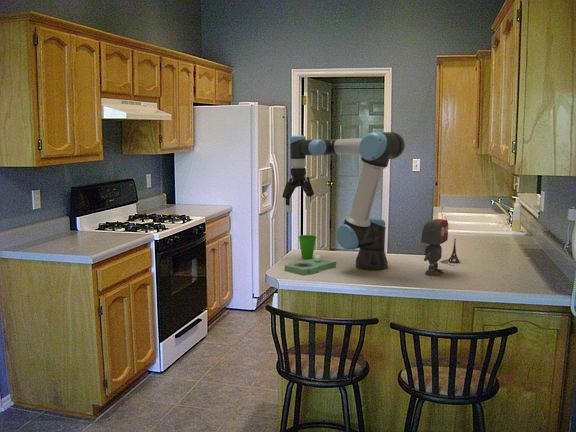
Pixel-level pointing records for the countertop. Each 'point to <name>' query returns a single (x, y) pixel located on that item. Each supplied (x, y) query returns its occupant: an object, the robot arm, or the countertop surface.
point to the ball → (317, 258)
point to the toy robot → (434, 243)
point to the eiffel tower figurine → (452, 257)
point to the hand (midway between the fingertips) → (298, 210)
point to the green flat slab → (309, 266)
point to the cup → (307, 245)
